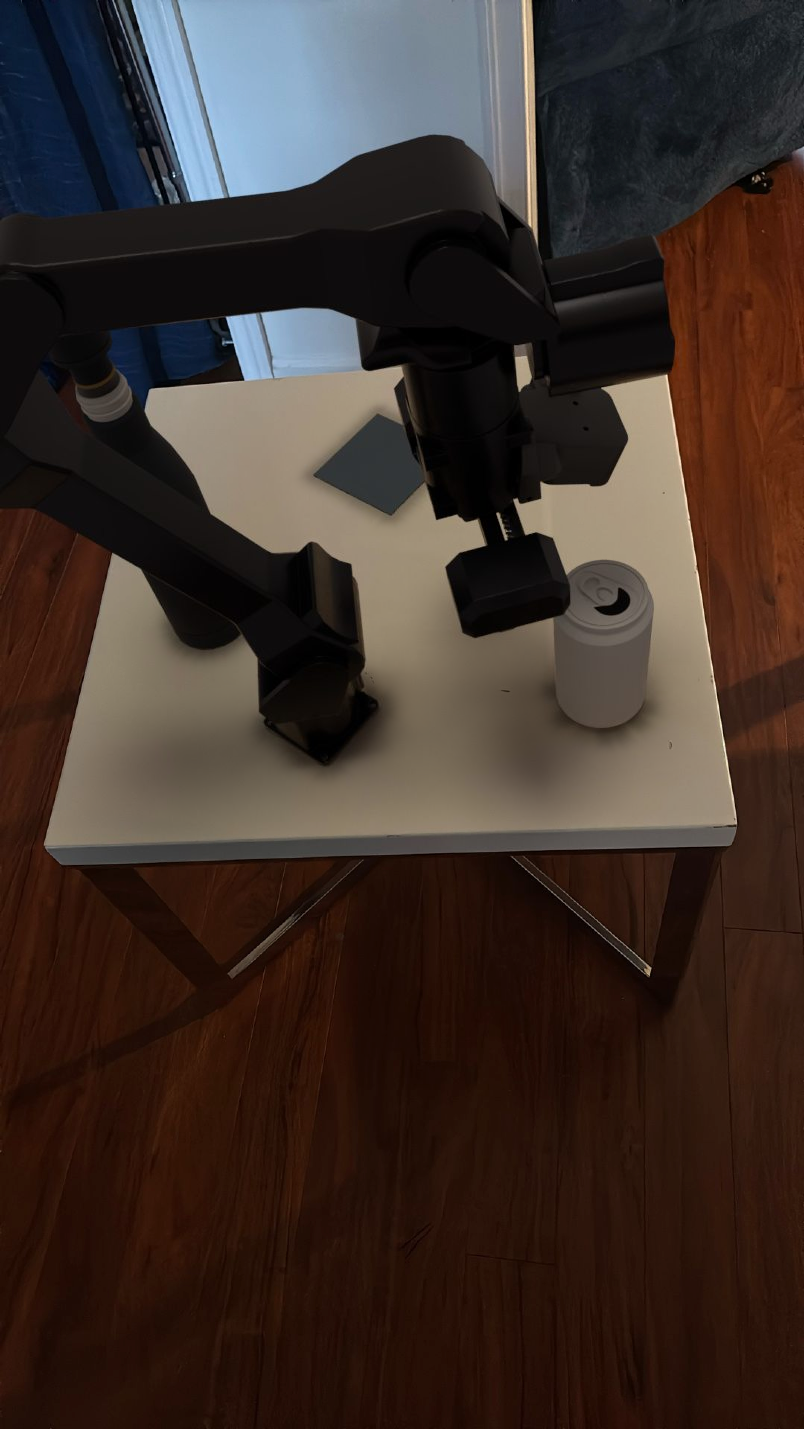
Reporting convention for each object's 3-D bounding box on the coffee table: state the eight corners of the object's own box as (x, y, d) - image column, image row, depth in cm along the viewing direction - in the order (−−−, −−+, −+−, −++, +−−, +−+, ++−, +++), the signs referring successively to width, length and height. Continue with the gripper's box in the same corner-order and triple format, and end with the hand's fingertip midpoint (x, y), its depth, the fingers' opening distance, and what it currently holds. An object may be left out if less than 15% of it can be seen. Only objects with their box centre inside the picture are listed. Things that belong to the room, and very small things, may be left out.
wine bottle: (238, 653, 83) (90, 340, 57) (164, 646, 84) (-12, 338, 59) (259, 589, 86) (128, 267, 61) (187, 584, 87) (30, 266, 62)
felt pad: (390, 515, 88) (390, 514, 88) (313, 475, 92) (313, 474, 92) (455, 450, 91) (455, 449, 91) (377, 414, 95) (377, 413, 95)
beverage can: (600, 749, 73) (604, 651, 63) (537, 695, 77) (531, 593, 66) (663, 696, 75) (677, 591, 65) (599, 645, 78) (603, 538, 68)
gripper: (672, 490, 50) (654, 657, 63) (563, 245, 59) (568, 437, 72) (446, 551, 50) (477, 704, 64) (373, 298, 59) (413, 479, 73)
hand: (488, 572), depth 68 cm, fingers open, 9 cm apart
